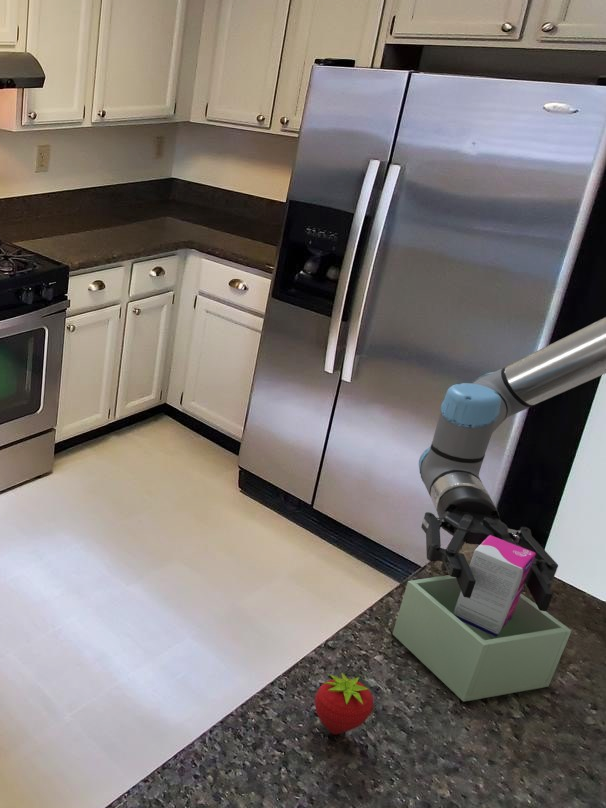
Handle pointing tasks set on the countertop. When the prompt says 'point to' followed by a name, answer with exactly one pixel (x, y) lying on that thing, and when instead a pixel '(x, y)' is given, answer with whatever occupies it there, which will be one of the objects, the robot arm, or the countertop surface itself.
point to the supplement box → (494, 585)
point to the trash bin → (478, 642)
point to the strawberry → (343, 704)
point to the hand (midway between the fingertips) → (507, 595)
